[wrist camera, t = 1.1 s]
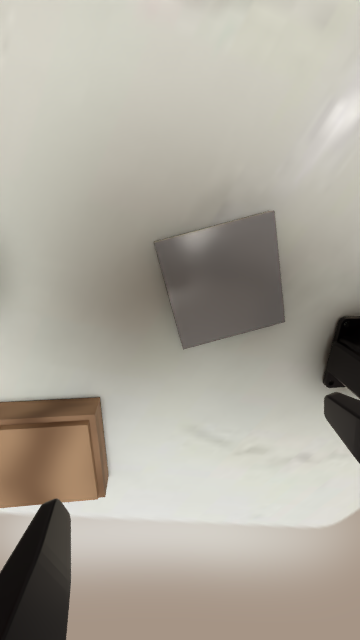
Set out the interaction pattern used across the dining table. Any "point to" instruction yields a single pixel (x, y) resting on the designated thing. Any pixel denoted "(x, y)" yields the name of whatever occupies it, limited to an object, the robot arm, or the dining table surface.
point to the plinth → (51, 451)
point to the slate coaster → (223, 279)
